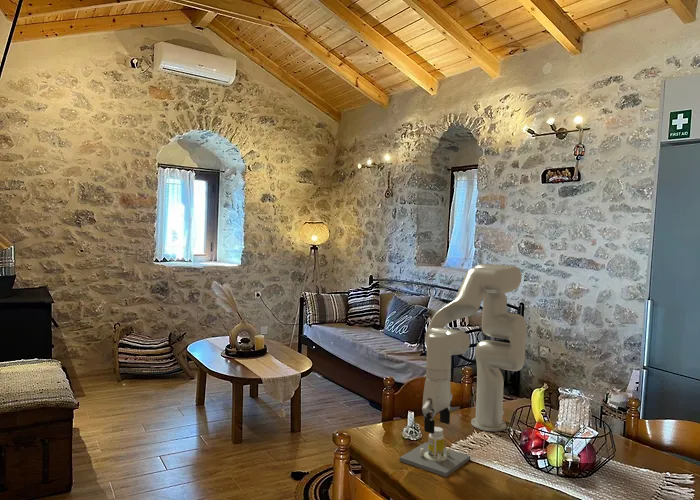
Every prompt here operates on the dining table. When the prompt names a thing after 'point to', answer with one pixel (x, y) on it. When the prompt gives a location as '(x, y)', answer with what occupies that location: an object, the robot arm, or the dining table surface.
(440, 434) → the supplement bottle
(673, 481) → the dining table surface
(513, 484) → the dining table surface
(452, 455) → the pin tray
